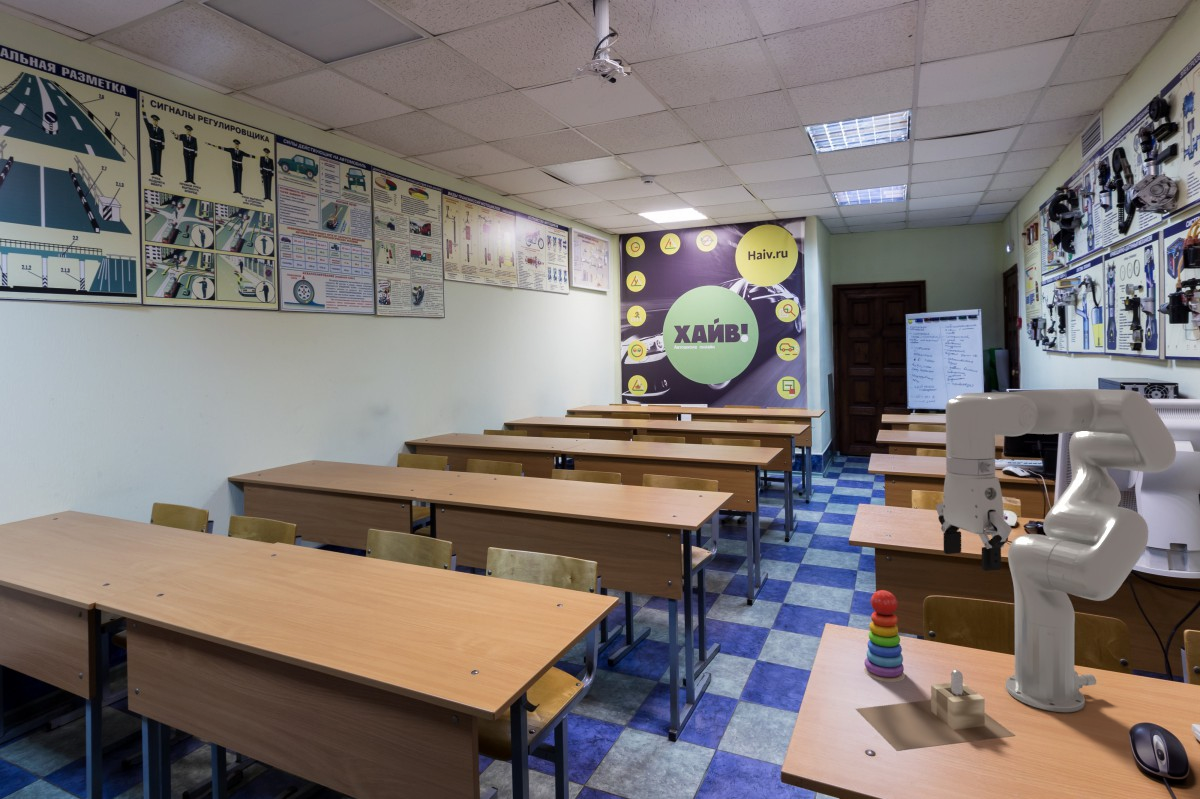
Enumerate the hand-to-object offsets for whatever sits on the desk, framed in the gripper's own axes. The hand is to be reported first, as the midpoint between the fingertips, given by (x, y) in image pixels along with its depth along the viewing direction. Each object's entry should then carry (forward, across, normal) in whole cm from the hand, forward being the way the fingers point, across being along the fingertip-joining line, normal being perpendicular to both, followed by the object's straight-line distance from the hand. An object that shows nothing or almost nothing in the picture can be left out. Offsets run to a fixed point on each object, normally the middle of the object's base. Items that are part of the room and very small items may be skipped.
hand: (971, 561), depth 112 cm
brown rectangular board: (+30, 0, +8) cm, 31 cm away
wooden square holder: (+29, 0, +3) cm, 29 cm away
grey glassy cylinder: (+29, 0, +3) cm, 29 cm away
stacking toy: (+31, +18, +6) cm, 36 cm away
